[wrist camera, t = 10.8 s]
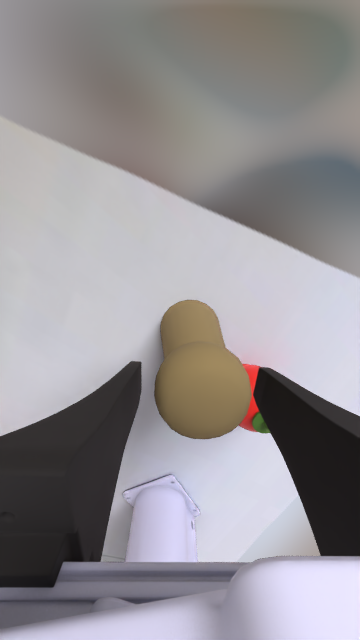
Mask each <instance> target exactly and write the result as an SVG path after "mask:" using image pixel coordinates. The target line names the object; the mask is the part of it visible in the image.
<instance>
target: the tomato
mask: <svg viewBox="0 0 360 640" xmlns="http://www.w3.org/2000/svg"><path fill="white" fill-rule="evenodd" d="M242 365H243V367H244V368H245V370H246V372H247V373H248V375H249V380H250V385H251V392H252V397H251V401H250V405H249V409H248V413H247V415H246V416H245V418H244V419H243V421H242V422H241V424H239V426H240V427H242V428H244V429H246V430H249V431H253V432H260V433H270V431H269V429H268V427H267V425H266V423H265V422H264V420H263V418H262V416H261V414H260V412H259V410H258V407H257V405H256V402H255V399H254V397H253V392H254V387H255V383H256V378H257V374H258V370H259V367H260V366H256V365H248V364H242Z"/></svg>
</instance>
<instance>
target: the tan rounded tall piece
mask: <svg viewBox="0 0 360 640" xmlns="http://www.w3.org/2000/svg"><path fill="white" fill-rule="evenodd" d="M161 338H162V346H163V353H164V361H163V363H162V364H161V366H160V368H159V371H158V373H157V375H156V380H155V391H154V396H155V402H156V405H157V408H158V411H159V414H160V415H161V417H162V418H163V419H164V421H165V422H166V423H167V424H168V425H169V427H170V428H171V429H172V430H174V431H176V432H177V433H179V434H180V435H183V436H186V437H189V438H193V439H211V438H216V437H220V436H222V435H224V434H227V433H229V432H231V431H232V430H233V429H235V428H236V427H237V426H238V425H239V424H241V422H242V421H243V419H244V418H245V416H246V415H247V413H248V409H249V405H250V401H251V397H252V392H251V385H250V380H249V375H248V373H247V372H246V370H245V368H244V367H243V365H242V363H241V362H240V360H239V359H238V358H237V357H236V356H235V355H234V354H233V353H231V352H230V351H229V350H228V349H226V348H225V344H224V340H223V336H222V333H221V329H220V325H219V321H218V318H217V316H216V314H215V312H214V311H213V309H211V308H210V307H209V306H208V305H207V304H205V303H202V302H200V301H197V300H185V301H181V302H178V303H176V304H175V305H173V306H171V307H170V308H169V309H168V310H167V312H166V313H165V314H164V316H163V319H162V321H161Z"/></svg>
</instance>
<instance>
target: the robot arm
mask: <svg viewBox="0 0 360 640" xmlns="http://www.w3.org/2000/svg"><path fill="white" fill-rule="evenodd" d="M140 395H141V362H135V361H131V362H130V363H129V364H127V365H126V366H125V367H124V368H123V369H122V370H121V371H120V372H119V373H117V374H116V375H115V376H114V377H113V378H111V379H110V380H109V381H108V382H106V383H105V384H104V385H103V386H101V387H100V388H99V389H97V390H96V391H94V392H93V393H91V394H90V395H88V396H87V397H85V398H83V399H82V400H80V401H78V402H77V403H75V404H73V405H71V406H69V407H67V408H66V409H64V410H62V411H60V412H58V413H56V414H54V415H52V416H50V417H47V418H45V419H43V420H41V421H38V422H36V423H34V424H31V425H29V426H26V427H24V428H21V429H19V430H16V431H13V432H11V433H8V434H5V435H3V436H0V640H360V416H358V415H356V414H353V413H351V412H349V411H347V410H345V409H343V408H341V407H338V406H336V405H334V404H332V403H330V402H328V401H326V400H324V399H323V398H321V397H319V396H317V395H315V394H314V393H312V392H310V391H308V390H306V389H305V388H303V387H301V386H300V385H298V384H296V383H295V382H293V381H291V380H290V379H288V378H286V377H285V376H283V375H281V374H280V373H278V372H276V371H274V370H273V369H271V368H266V367H259V370H258V374H257V378H256V383H255V387H254V392H253V397H254V399H255V402H256V405H257V407H258V410H259V412H260V414H261V416H262V418H263V420H264V422H265V423H266V425H267V427H268V429H269V431H270V433H271V435H272V436H273V438H274V440H275V442H276V444H277V446H278V448H279V450H280V452H281V454H282V456H283V458H284V460H285V462H286V465H287V467H288V469H289V472H290V474H291V476H292V479H293V481H294V484H295V486H296V489H297V491H298V494H299V496H300V499H301V501H302V503H303V507H304V509H305V512H306V515H307V517H308V520H309V523H310V526H311V528H312V531H313V534H314V537H315V540H316V543H317V546H318V549H319V552H320V554H321V556H276V557H269V558H262V559H257V560H255V561H253V562H251V563H239V562H198V558H197V544H196V530H195V517H197V516H199V515H200V510H199V509H198V508H197V506H196V505H195V504H194V502H193V501H192V500H191V498H190V497H189V496H188V494H187V493H186V492H185V490H184V489H183V488H182V486H181V485H180V484H179V482H178V481H177V480H176V478H175V477H174V476H173V475H168V476H166V477H163V478H160V479H157V480H155V481H152V482H149V483H146V484H144V485H141V486H138V487H136V488H133V489H130V490H127V491H125V492H124V494H123V497H124V498H125V499H126V500H127V501H128V502H129V504H130V505H131V506H132V507H133V508H134V511H133V517H132V523H131V529H130V534H129V540H128V546H127V552H126V558H125V562H100V561H101V556H102V551H103V545H104V540H105V535H106V530H107V526H108V521H109V516H110V511H111V506H112V502H113V497H114V492H115V488H116V483H117V479H118V474H119V470H120V465H121V461H122V457H123V453H124V449H125V445H126V442H127V439H128V436H129V433H130V430H131V427H132V424H133V421H134V418H135V415H136V412H137V408H138V405H139V400H140Z"/></svg>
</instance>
